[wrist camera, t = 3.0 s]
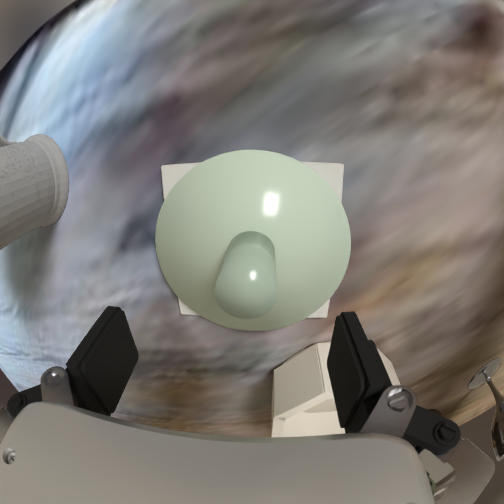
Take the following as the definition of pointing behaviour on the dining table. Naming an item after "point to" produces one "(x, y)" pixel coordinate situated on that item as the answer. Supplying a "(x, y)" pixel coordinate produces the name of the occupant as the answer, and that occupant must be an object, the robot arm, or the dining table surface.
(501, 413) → the wine glass
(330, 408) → the bowl
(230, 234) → the lid
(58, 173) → the glass holder
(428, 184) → the dining table surface
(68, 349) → the dining table surface
